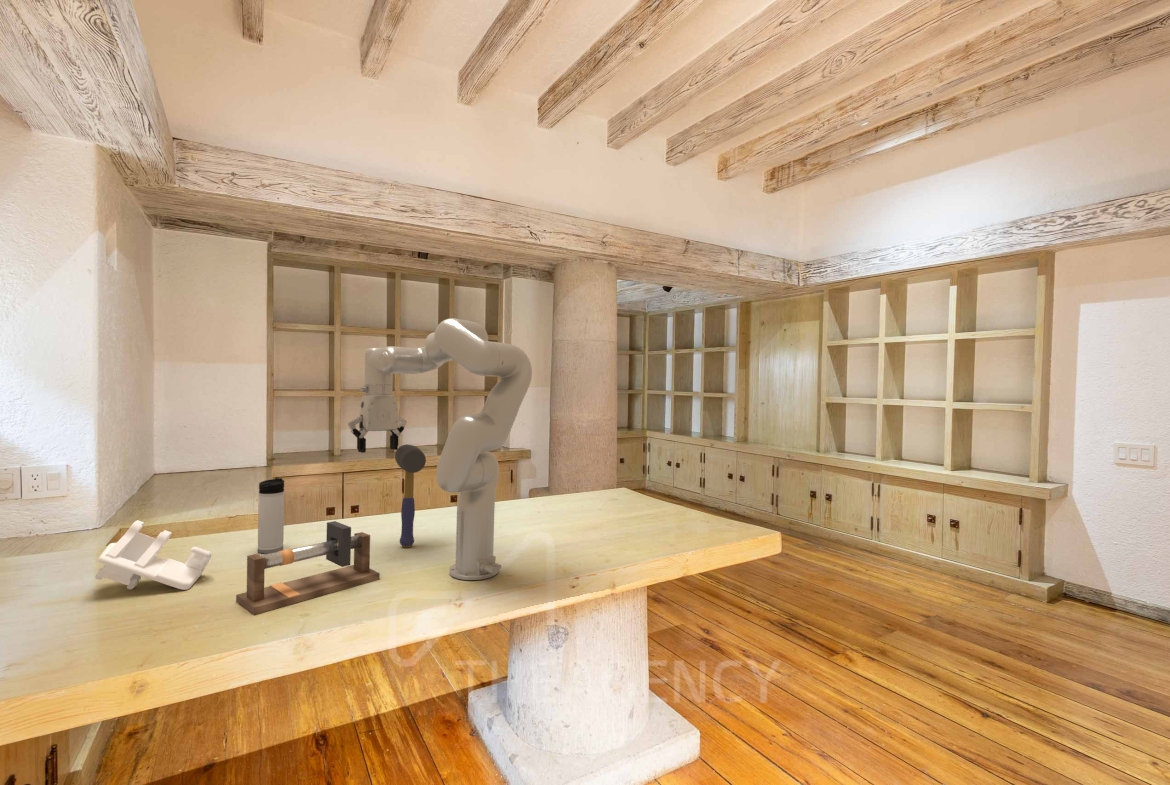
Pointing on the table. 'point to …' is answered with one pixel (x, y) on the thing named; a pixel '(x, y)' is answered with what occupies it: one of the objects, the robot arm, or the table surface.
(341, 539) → the collar
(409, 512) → the rubber mallet
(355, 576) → the pipe stand
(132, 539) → the white angular bracket piece
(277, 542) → the travel mug
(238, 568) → the table surface
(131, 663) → the table surface
